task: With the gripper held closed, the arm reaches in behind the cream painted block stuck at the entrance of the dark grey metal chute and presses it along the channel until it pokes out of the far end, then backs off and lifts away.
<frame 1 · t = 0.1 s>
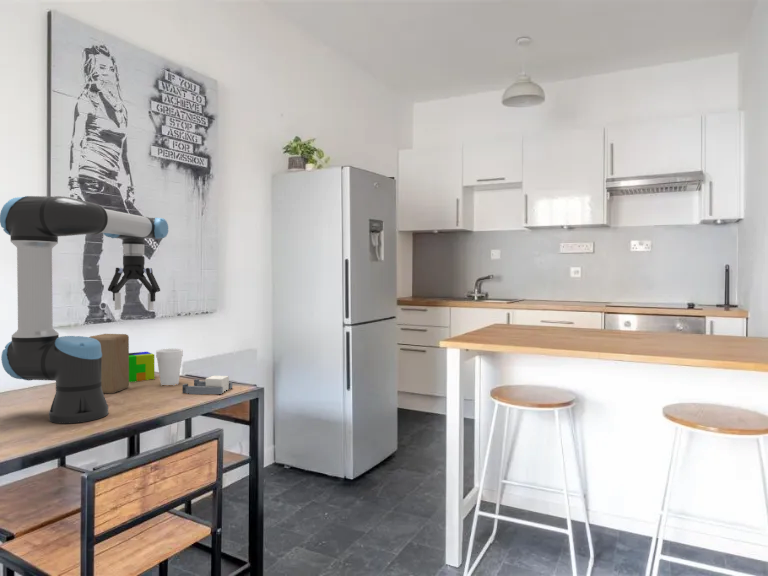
hand: (134, 309, 203), 28 cm above the table, tool pointing down, fingers open, 13 cm apart
chute: (208, 391, 188), on the table
wooden block: (108, 390, 187), on the table
foam cup: (169, 384, 199), on the table
puzzle toy: (137, 379, 208), on the table
block: (217, 384, 187), point 3 cm above the table, slide at 0.0 cm
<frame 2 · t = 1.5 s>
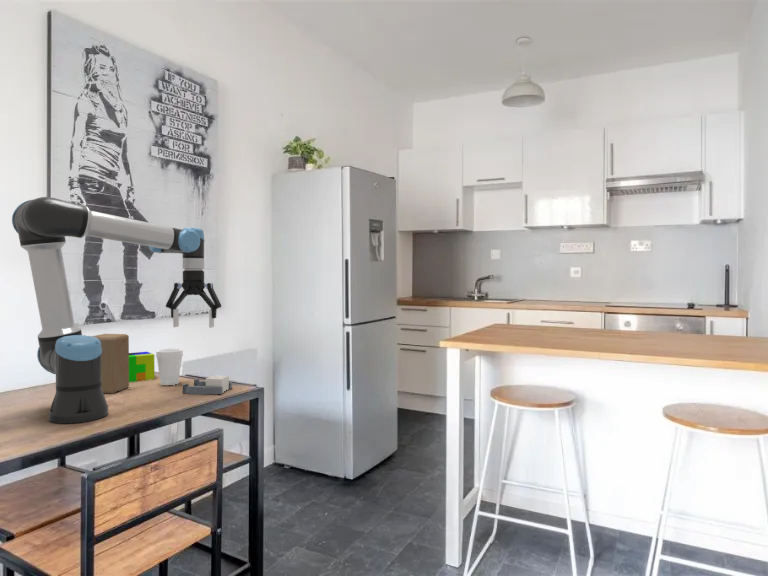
hand: (193, 327, 193), 22 cm above the table, tool pointing down, fingers open, 13 cm apart
nothing on the table moved.
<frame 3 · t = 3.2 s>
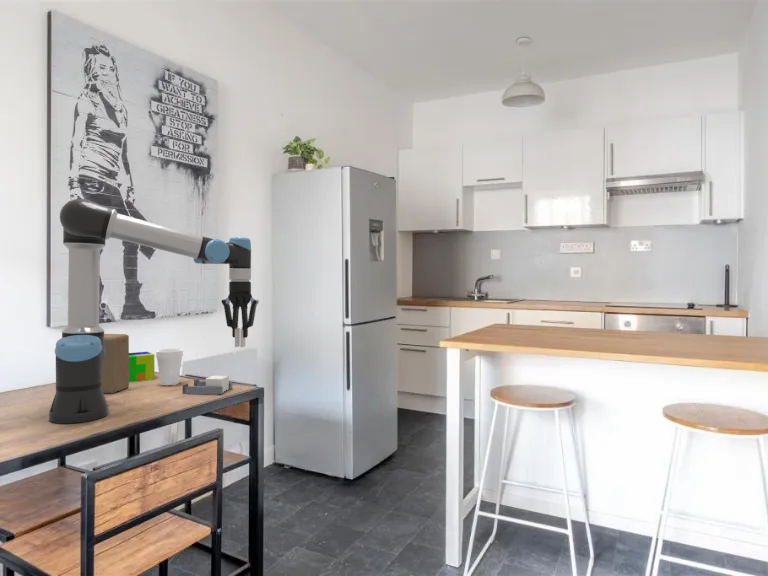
hand: (240, 346, 186), 16 cm above the table, tool pointing down, fingers closed
nothing on the table moved.
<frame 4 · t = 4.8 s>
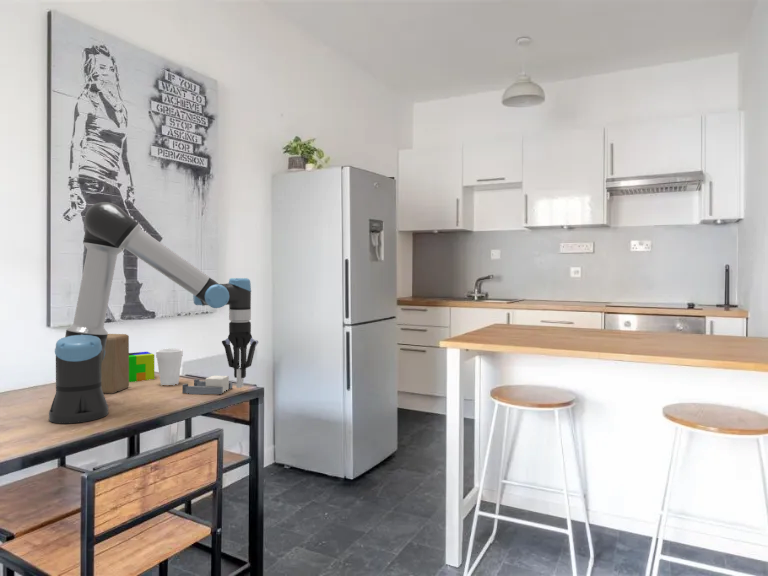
hand: (240, 386, 186), 2 cm above the table, tool pointing down, fingers closed
nothing on the table moved.
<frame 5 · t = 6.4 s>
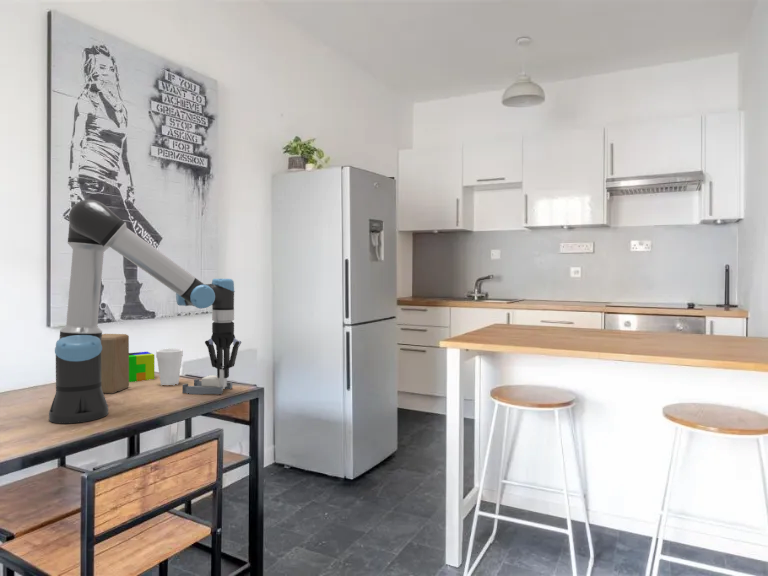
hand: (223, 386, 187), 2 cm above the table, tool pointing down, fingers closed
block: (213, 384, 187), point 3 cm above the table, slide at 1.5 cm, touching gripper
everything else where it was.
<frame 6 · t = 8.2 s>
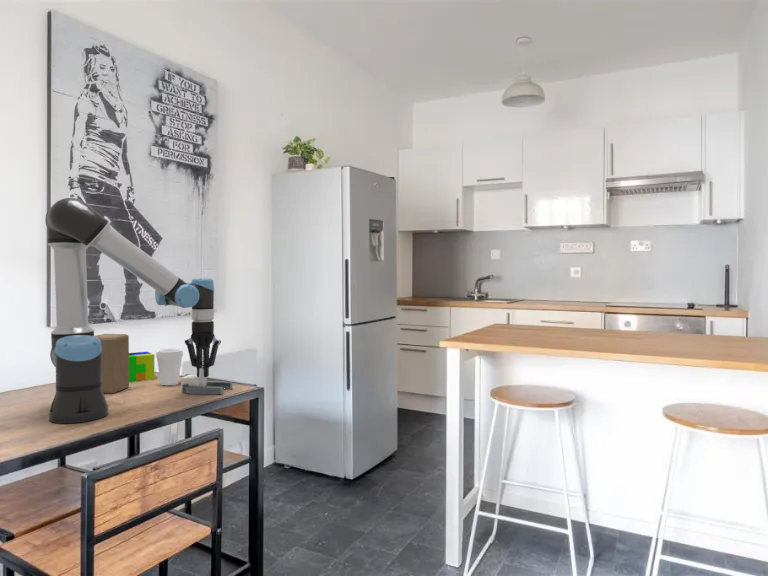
hand: (202, 385, 188), 2 cm above the table, tool pointing down, fingers closed
block: (193, 383, 188), point 3 cm above the table, slide at 9.1 cm, touching gripper
everything else where it was.
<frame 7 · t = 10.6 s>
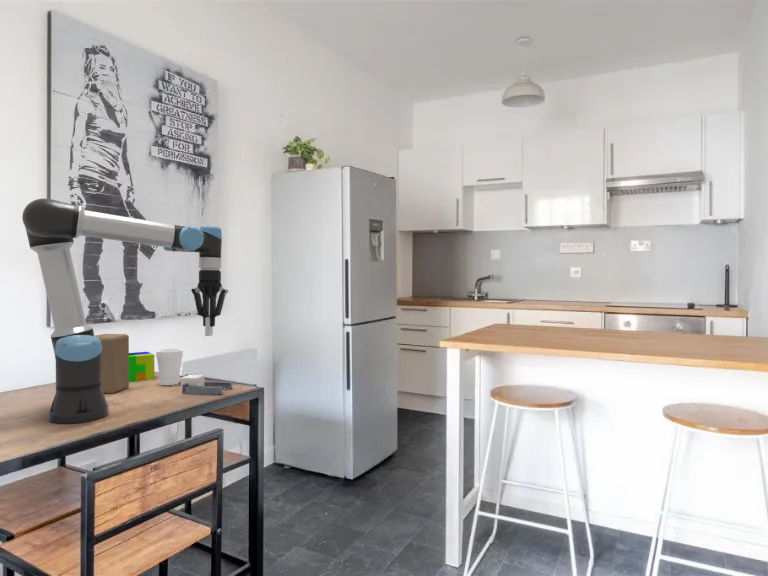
hand: (208, 335, 186), 20 cm above the table, tool pointing down, fingers closed
block: (193, 383, 188), point 3 cm above the table, slide at 9.2 cm
everything else where it was.
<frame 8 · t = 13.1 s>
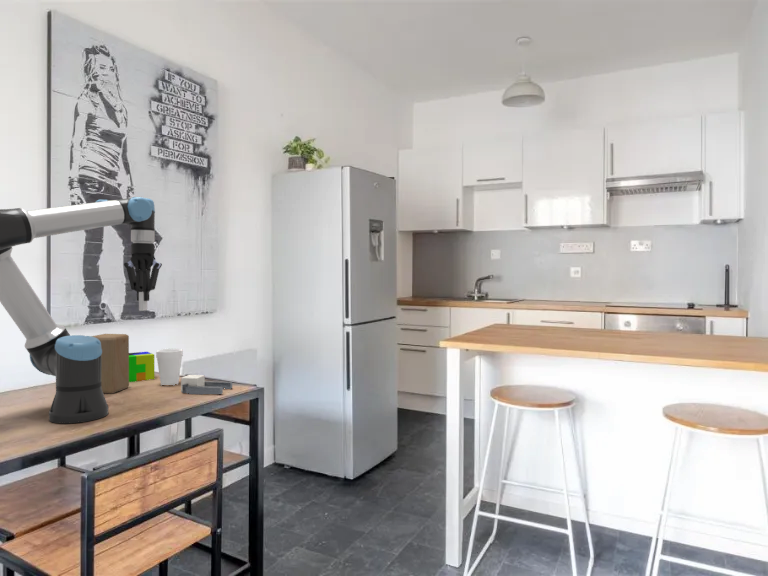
hand: (143, 310, 182), 29 cm above the table, tool pointing down, fingers closed
nothing on the table moved.
at the end: block slide at 9.2 cm; block 1.1 cm from the target spot, on the table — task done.
